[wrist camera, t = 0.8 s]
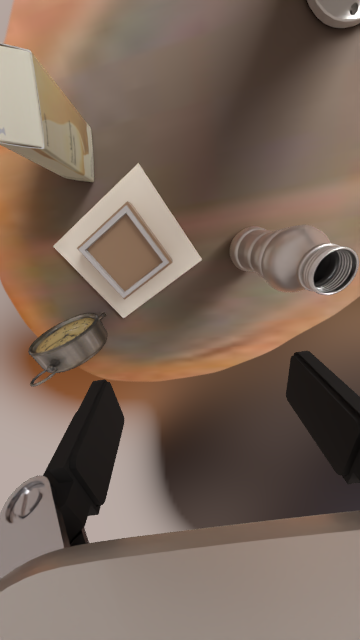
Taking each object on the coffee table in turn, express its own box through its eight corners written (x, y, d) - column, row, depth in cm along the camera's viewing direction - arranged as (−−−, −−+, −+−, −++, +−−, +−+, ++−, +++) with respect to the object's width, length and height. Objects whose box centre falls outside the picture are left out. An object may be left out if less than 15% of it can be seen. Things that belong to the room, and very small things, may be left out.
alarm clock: (107, 304, 36) (63, 356, 22) (119, 328, 39) (87, 390, 24) (55, 321, 37) (-20, 381, 23) (70, 343, 40) (11, 411, 25)
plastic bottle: (224, 268, 34) (284, 314, 16) (228, 226, 31) (305, 224, 13) (260, 267, 34) (358, 311, 16) (267, 225, 31) (396, 222, 13)
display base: (139, 165, 27) (133, 153, 23) (201, 258, 33) (205, 263, 29) (56, 245, 31) (38, 248, 27) (124, 316, 37) (118, 327, 33)
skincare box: (95, 183, 28) (46, 154, 17) (64, 178, 28) (-7, 146, 17) (91, 124, 25) (30, 45, 14) (57, 118, 25) (-33, 33, 14)
